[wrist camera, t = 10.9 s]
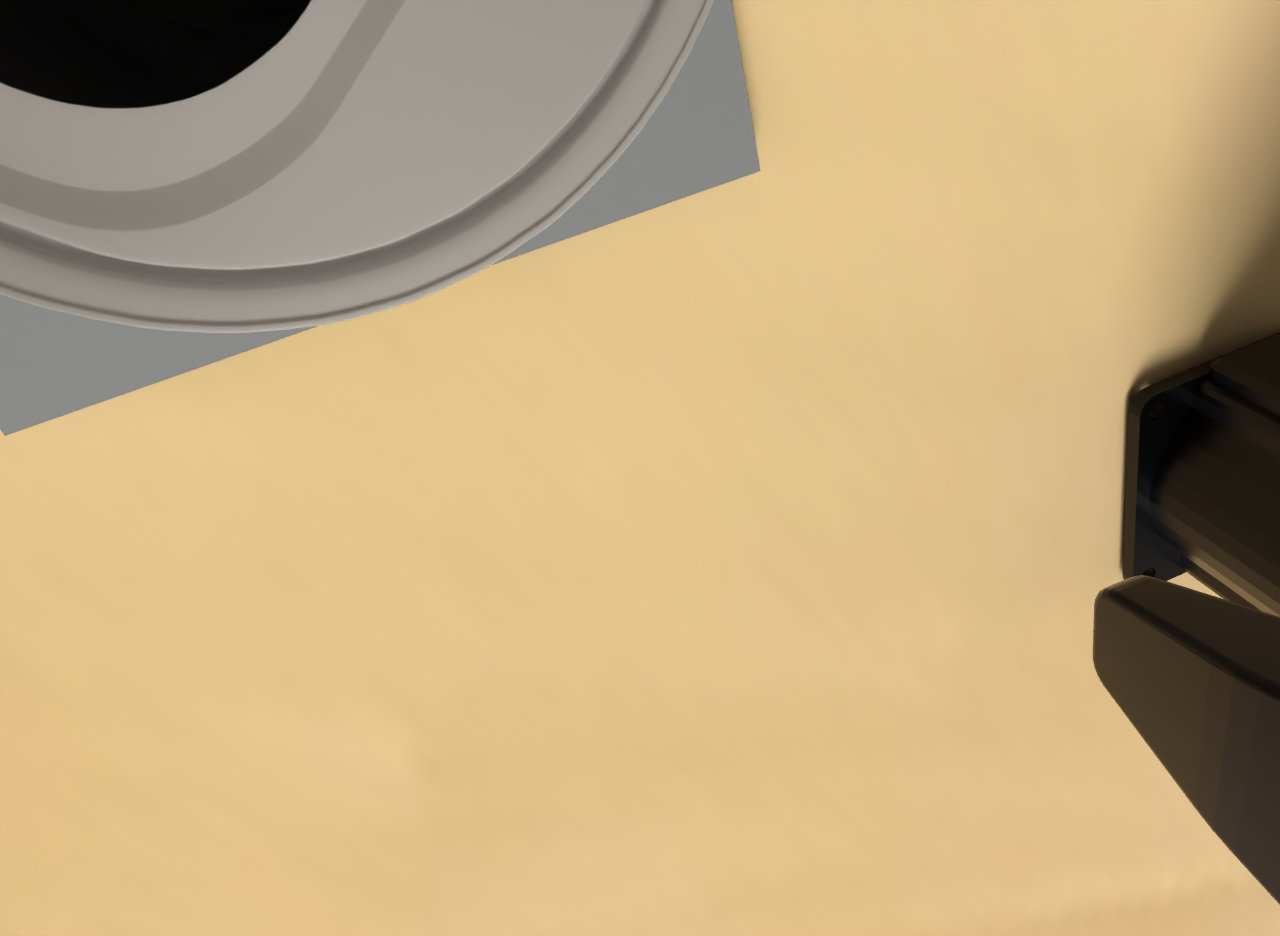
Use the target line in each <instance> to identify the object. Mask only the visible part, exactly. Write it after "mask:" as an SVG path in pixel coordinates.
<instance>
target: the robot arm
mask: <svg viewBox="0 0 1280 936" xmlns="http://www.w3.org/2000/svg"><path fill="white" fill-rule="evenodd" d="M1185 572H1188V573H1189V574H1190V575H1192V576H1193V577H1194V578H1196V579H1197V580H1198V581H1200V582H1201V583H1203V584H1204V585H1205V586H1207V587H1208V588H1209V589H1211V590H1212V591H1214V592H1215V593H1216V594H1218V595H1219V596H1220V597H1222V598H1223V599H1221V598H1218V597H1215V596H1211V595H1208V594H1205V593H1202V592H1199V591H1196V590H1192V589H1189V588H1186V587H1183V586H1180V585H1176V584H1173V583H1170V582H1167V580H1169V579H1172V578H1174V577H1176V576H1178V575H1181V574H1183V573H1185ZM1123 579H1124V580H1123V581H1121V582H1119V583H1116V584H1114V585H1111V586H1109V587H1107V588H1104V589H1103V590H1101V591H1100V592H1099V593H1098V595H1097V597H1096V599H1095V603H1094V630H1093V662H1094V666H1095V669H1096V672H1097V674H1098V676H1099V678H1100V680H1101V682H1102V684H1103V685H1104V687H1105V688H1106V689H1107V691H1108V692H1109V693H1110V695H1111V696H1112V697H1113V699H1114V700H1115V701H1116V703H1117V704H1118V705H1119V707H1120V708H1121V709H1122V711H1123V712H1124V713H1125V715H1126V716H1127V717H1128V719H1129V720H1130V722H1131V723H1132V724H1133V726H1134V727H1135V728H1136V730H1137V731H1138V732H1139V734H1140V735H1141V736H1142V738H1143V739H1144V740H1145V742H1146V743H1147V744H1148V746H1149V747H1150V748H1151V750H1152V751H1153V752H1154V754H1155V755H1156V756H1157V758H1158V759H1159V760H1160V762H1161V763H1162V764H1163V766H1164V767H1165V768H1166V770H1167V771H1168V772H1169V774H1170V775H1171V776H1172V778H1173V779H1174V780H1175V782H1176V783H1177V784H1178V786H1179V787H1180V789H1181V790H1182V791H1183V793H1184V794H1185V795H1186V797H1187V798H1188V799H1189V801H1190V802H1191V803H1192V805H1193V806H1194V807H1195V808H1196V810H1197V811H1198V812H1199V814H1200V815H1201V816H1202V817H1203V819H1204V820H1205V821H1206V822H1207V824H1208V825H1209V826H1210V827H1211V829H1212V830H1213V831H1214V832H1215V833H1216V835H1217V836H1218V837H1219V838H1220V839H1221V840H1222V841H1223V843H1224V844H1225V845H1226V846H1227V847H1228V848H1229V849H1230V851H1231V852H1232V853H1233V854H1234V855H1235V856H1236V857H1237V858H1238V859H1239V861H1240V862H1241V863H1242V864H1243V865H1244V866H1245V867H1246V868H1247V869H1248V870H1249V871H1250V873H1251V874H1252V875H1253V876H1254V877H1255V878H1256V879H1257V880H1258V881H1259V882H1260V884H1261V885H1262V886H1263V887H1264V888H1265V889H1266V890H1267V891H1268V892H1269V893H1270V894H1271V896H1272V897H1273V898H1274V899H1275V900H1276V901H1277V902H1278V903H1279V904H1280V333H1278V334H1275V335H1273V336H1271V337H1268V338H1266V339H1263V340H1261V341H1258V342H1256V343H1253V344H1251V345H1249V346H1246V347H1244V348H1241V349H1239V350H1236V351H1234V352H1231V353H1229V354H1227V355H1224V356H1222V357H1219V358H1217V359H1214V360H1212V361H1209V362H1207V363H1205V364H1202V365H1200V366H1197V367H1195V368H1192V369H1190V370H1187V371H1185V372H1183V373H1180V374H1178V375H1175V376H1173V377H1170V378H1168V379H1165V380H1163V381H1161V382H1158V383H1156V384H1153V385H1151V386H1148V387H1146V388H1144V389H1143V390H1141V391H1139V393H1138V394H1137V395H1136V396H1135V397H1134V398H1133V400H1132V402H1131V403H1130V407H1129V412H1128V440H1127V468H1126V496H1125V523H1124V551H1123Z"/></svg>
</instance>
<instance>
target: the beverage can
mask: <svg viewBox="0 0 1280 936" xmlns="http://www.w3.org/2000/svg"><path fill="white" fill-rule="evenodd" d="M713 2H714V0H0V294H1V295H4V296H7V297H9V298H12V299H15V300H19V301H22V302H25V303H29V304H32V305H36V306H39V307H43V308H46V309H50V310H54V311H59V312H63V313H68V314H72V315H77V316H81V317H86V318H90V319H95V320H100V321H106V322H111V323H117V324H122V325H128V326H133V327H139V328H148V329H157V330H166V331H184V332H204V333H250V332H262V331H275V330H287V329H295V328H303V327H310V326H318V325H326V324H330V323H335V322H340V321H345V320H350V319H354V318H358V317H361V316H365V315H369V314H373V313H376V312H380V311H384V310H387V309H391V308H394V307H397V306H401V305H404V304H407V303H410V302H413V301H416V300H418V299H420V298H423V297H425V296H428V295H430V294H433V293H435V292H437V291H439V290H441V289H443V288H446V287H448V286H450V285H452V284H454V283H456V282H459V281H461V280H463V279H465V278H467V277H469V276H471V275H473V274H475V273H477V272H479V271H481V270H483V269H485V268H487V267H489V266H491V265H492V264H494V263H495V262H497V261H499V260H500V259H502V258H503V257H505V256H506V255H508V254H509V253H511V252H512V251H514V250H515V249H517V248H518V247H520V246H521V245H523V244H524V243H525V242H527V241H528V240H530V239H531V238H533V237H534V236H536V235H537V234H539V233H540V232H542V231H543V230H545V229H546V228H547V227H549V226H550V225H551V224H552V223H553V222H555V221H556V220H557V219H558V218H559V217H561V216H562V215H563V214H564V213H565V212H566V211H567V210H568V209H569V208H570V207H571V206H573V205H574V204H575V203H576V202H577V201H578V200H579V199H580V198H581V197H582V196H583V195H584V194H585V193H586V192H587V191H588V190H589V189H590V188H591V187H592V186H593V185H594V184H595V183H596V182H597V181H598V180H599V179H600V178H601V177H602V176H603V175H604V174H605V173H606V172H607V171H608V169H609V168H610V167H611V166H612V165H613V164H614V163H615V162H616V161H617V160H618V158H619V157H620V156H621V155H622V154H623V152H624V151H625V150H626V149H627V147H628V146H629V145H630V144H631V142H632V141H633V140H634V139H635V137H636V136H637V135H638V134H639V133H640V131H641V130H642V129H643V127H644V126H645V124H646V123H647V122H648V120H649V119H650V117H651V116H652V114H653V113H654V111H655V110H656V108H657V107H658V106H659V104H660V103H661V101H662V100H663V98H664V97H665V95H666V94H667V92H668V91H669V89H670V87H671V85H672V84H673V82H674V80H675V78H676V77H677V75H678V73H679V71H680V70H681V68H682V66H683V65H684V63H685V61H686V59H687V58H688V56H689V54H690V52H691V50H692V48H693V46H694V44H695V42H696V39H697V37H698V35H699V33H700V31H701V29H702V27H703V25H704V23H705V21H706V19H707V16H708V14H709V12H710V10H711V7H712V5H713Z"/></svg>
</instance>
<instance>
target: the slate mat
mask: <svg viewBox="0 0 1280 936" xmlns="http://www.w3.org/2000/svg"><path fill="white" fill-rule="evenodd" d="M758 171H760V165H759V159H758V154H757V148H756V142H755V136H754V130H753V124H752V119H751V113H750V107H749V101H748V95H747V89H746V84H745V78H744V72H743V66H742V60H741V54H740V49H739V43H738V37H737V31H736V25H735V19H734V14H733V8H732V2H731V0H714V2H713V5H712V7H711V10H710V12H709V14H708V16H707V19H706V21H705V23H704V25H703V27H702V29H701V31H700V33H699V35H698V37H697V39H696V42H695V44H694V46H693V48H692V50H691V52H690V54H689V56H688V58H687V59H686V61H685V63H684V65H683V66H682V68H681V70H680V71H679V73H678V75H677V77H676V78H675V80H674V82H673V84H672V85H671V87H670V89H669V91H668V92H667V94H666V95H665V97H664V98H663V100H662V101H661V103H660V104H659V106H658V107H657V108H656V110H655V111H654V113H653V114H652V116H651V117H650V119H649V120H648V122H647V123H646V124H645V126H644V127H643V129H642V130H641V131H640V133H639V134H638V135H637V136H636V137H635V139H634V140H633V141H632V142H631V144H630V145H629V146H628V147H627V149H626V150H625V151H624V152H623V154H622V155H621V156H620V157H619V158H618V160H617V161H616V162H615V163H614V164H613V165H612V166H611V167H610V168H609V169H608V171H607V172H606V173H605V174H604V175H603V176H602V177H601V178H600V179H599V180H598V181H597V182H596V183H595V184H594V185H593V186H592V187H591V188H590V189H589V190H588V191H587V192H586V193H585V194H584V195H583V196H582V197H581V198H580V199H579V200H578V201H577V202H576V203H575V204H574V205H573V206H571V207H570V208H569V209H568V210H567V211H566V212H565V213H564V214H563V215H562V216H561V217H559V218H558V219H557V220H556V221H555V222H553V223H552V224H551V225H550V226H549V227H547V228H546V229H545V230H543V231H542V232H540V233H539V234H537V235H536V236H534V237H533V238H531V239H530V240H528V241H527V242H525V243H524V244H523V245H521V246H520V247H518V248H517V249H515V250H514V251H512V252H511V253H509V254H508V255H506V256H505V257H503V258H502V259H500V260H499V261H497V262H495V263H494V264H496V263H499V262H502V261H505V260H507V259H510V258H513V257H516V256H519V255H522V254H525V253H527V252H530V251H533V250H536V249H539V248H542V247H545V246H547V245H550V244H553V243H556V242H559V241H562V240H564V239H567V238H570V237H573V236H576V235H579V234H582V233H584V232H587V231H590V230H593V229H596V228H599V227H602V226H604V225H607V224H610V223H613V222H616V221H619V220H622V219H624V218H627V217H630V216H633V215H636V214H639V213H641V212H644V211H647V210H650V209H653V208H656V207H659V206H661V205H664V204H667V203H670V202H673V201H676V200H679V199H681V198H684V197H687V196H690V195H693V194H696V193H698V192H701V191H704V190H707V189H710V188H713V187H716V186H718V185H721V184H724V183H727V182H730V181H733V180H736V179H738V178H741V177H744V176H747V175H750V174H753V173H756V172H758ZM492 265H493V264H492ZM318 326H319V325H318ZM314 327H316V326H310V327H303V328H295V329H287V330H275V331H262V332H250V333H204V332H184V331H166V330H157V329H148V328H139V327H133V326H128V325H122V324H117V323H111V322H106V321H100V320H95V319H90V318H86V317H81V316H77V315H72V314H68V313H63V312H59V311H54V310H50V309H46V308H43V307H39V306H36V305H32V304H29V303H25V302H22V301H19V300H15V299H12V298H9V297H7V296H4V295H1V294H0V429H1V431H2V432H3V434H4V435H5V436H6V435H9V434H11V433H14V432H17V431H20V430H23V429H26V428H29V427H31V426H34V425H37V424H40V423H43V422H46V421H48V420H51V419H54V418H57V417H60V416H63V415H66V414H68V413H71V412H74V411H77V410H80V409H83V408H86V407H88V406H91V405H94V404H97V403H100V402H103V401H105V400H108V399H111V398H114V397H117V396H120V395H123V394H125V393H128V392H131V391H134V390H137V389H140V388H143V387H145V386H148V385H151V384H154V383H157V382H160V381H162V380H165V379H168V378H171V377H174V376H177V375H180V374H182V373H185V372H188V371H191V370H194V369H197V368H200V367H202V366H205V365H208V364H211V363H214V362H217V361H220V360H222V359H225V358H228V357H231V356H234V355H237V354H239V353H242V352H245V351H248V350H251V349H254V348H257V347H259V346H262V345H265V344H268V343H271V342H274V341H277V340H279V339H282V338H285V337H288V336H291V335H294V334H296V333H299V332H302V331H305V330H308V329H311V328H314Z"/></svg>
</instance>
